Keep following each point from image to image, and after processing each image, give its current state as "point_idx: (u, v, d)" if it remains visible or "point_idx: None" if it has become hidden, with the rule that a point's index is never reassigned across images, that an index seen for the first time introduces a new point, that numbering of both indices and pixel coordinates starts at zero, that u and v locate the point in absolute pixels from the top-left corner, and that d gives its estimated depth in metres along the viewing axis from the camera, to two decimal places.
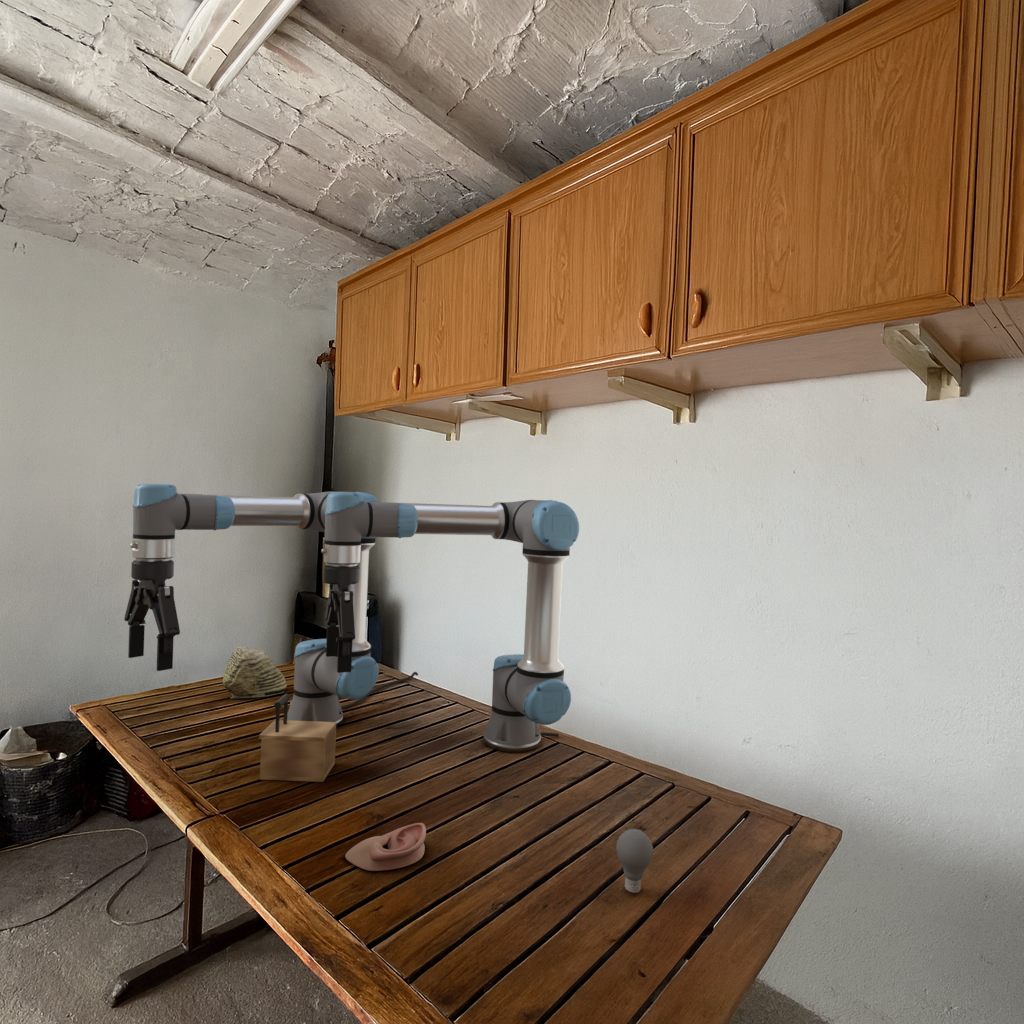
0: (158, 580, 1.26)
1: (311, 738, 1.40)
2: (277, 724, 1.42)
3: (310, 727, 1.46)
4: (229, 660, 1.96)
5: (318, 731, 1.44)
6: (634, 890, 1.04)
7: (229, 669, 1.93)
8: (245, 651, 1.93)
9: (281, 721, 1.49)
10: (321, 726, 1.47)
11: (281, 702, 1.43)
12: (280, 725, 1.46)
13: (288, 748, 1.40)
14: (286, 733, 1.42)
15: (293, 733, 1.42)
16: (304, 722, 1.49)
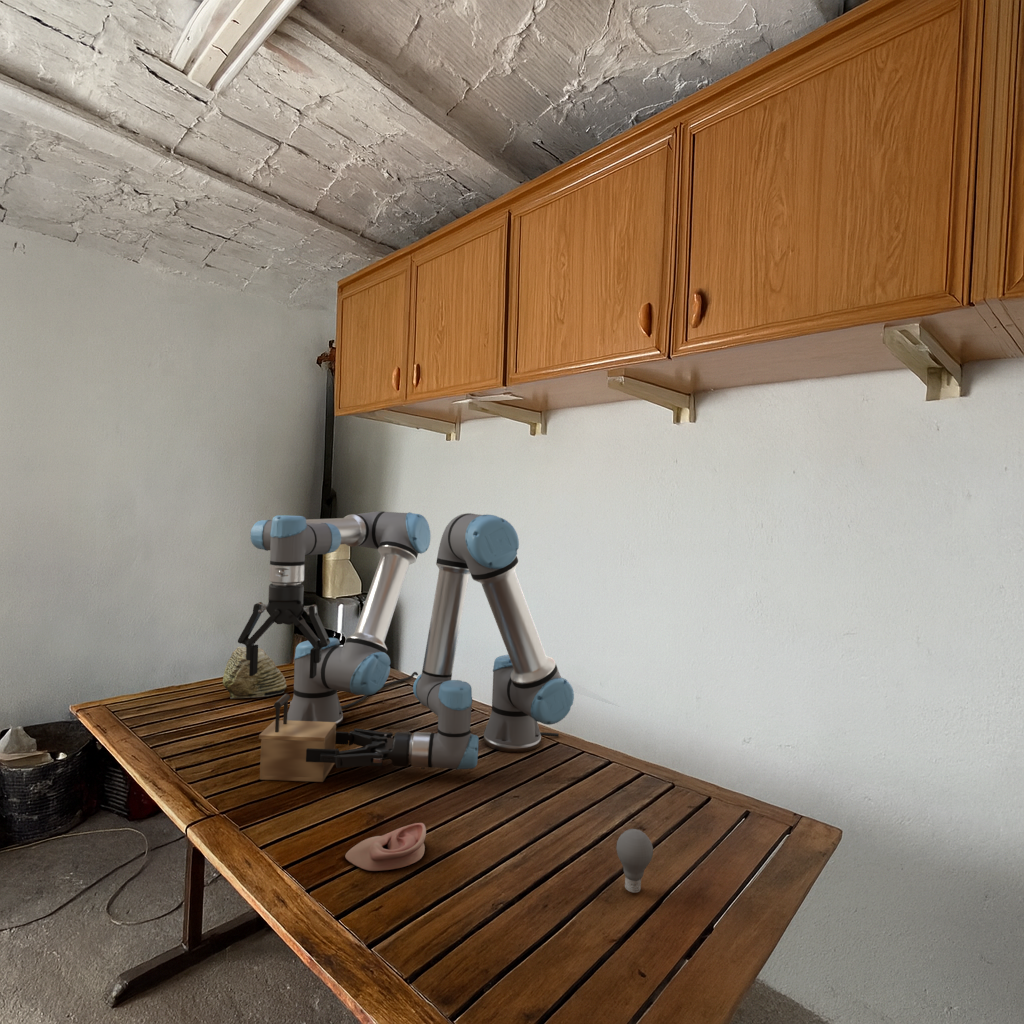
0: (301, 600, 1.44)
1: (311, 738, 1.40)
2: (277, 724, 1.42)
3: (310, 727, 1.46)
4: (229, 660, 1.96)
5: (318, 731, 1.44)
6: (634, 890, 1.04)
7: (229, 669, 1.93)
8: (245, 651, 1.93)
9: (281, 721, 1.49)
10: (321, 726, 1.47)
11: (281, 702, 1.43)
12: (280, 725, 1.46)
13: (288, 748, 1.40)
14: (286, 733, 1.42)
15: (293, 733, 1.42)
16: (304, 722, 1.49)
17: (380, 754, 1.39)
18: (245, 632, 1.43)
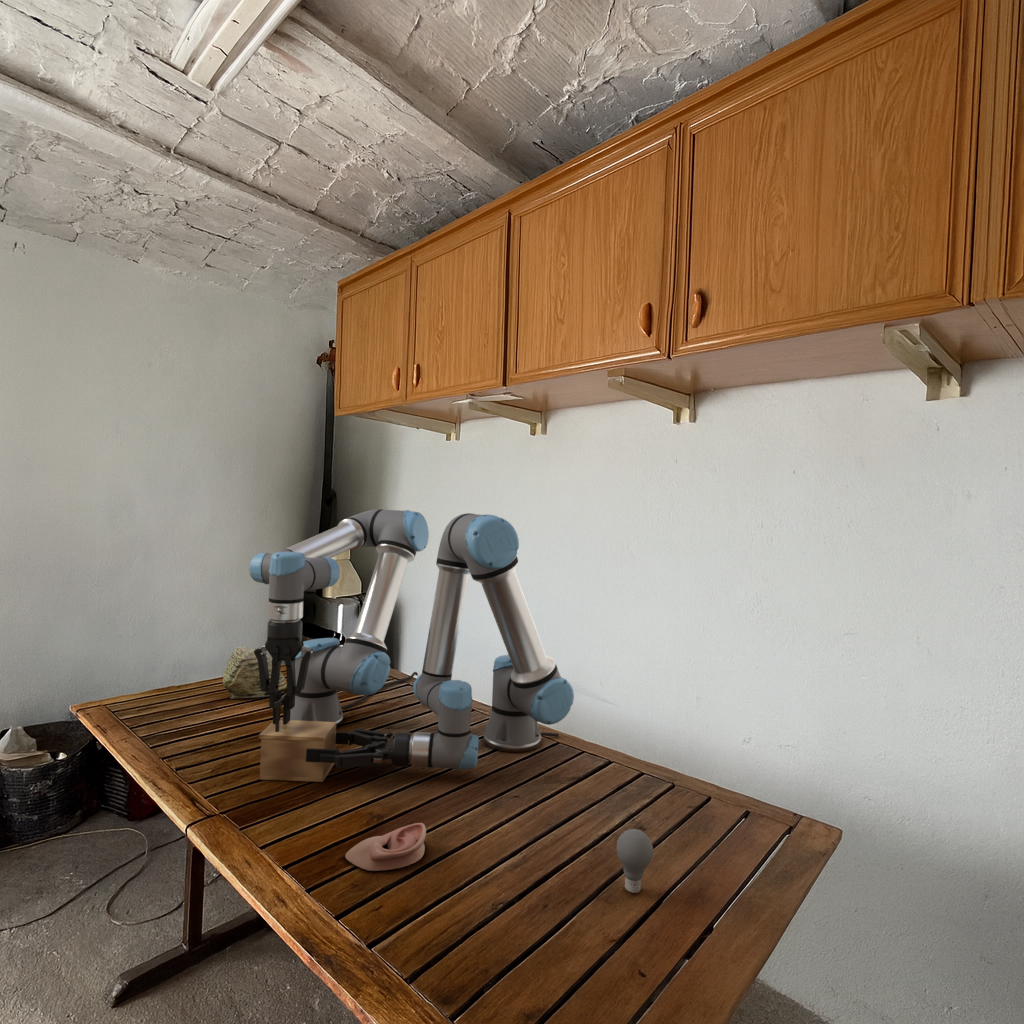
0: (300, 637, 1.44)
1: (311, 738, 1.40)
2: (277, 724, 1.42)
3: (310, 727, 1.46)
4: (229, 660, 1.96)
5: (318, 731, 1.44)
6: (634, 890, 1.04)
7: (229, 669, 1.93)
8: (245, 651, 1.93)
9: (281, 721, 1.49)
10: (321, 726, 1.47)
11: (281, 702, 1.43)
12: (280, 725, 1.46)
13: (288, 748, 1.40)
14: (286, 733, 1.42)
15: (293, 733, 1.42)
16: (304, 722, 1.49)
17: (380, 754, 1.39)
18: (262, 679, 1.44)
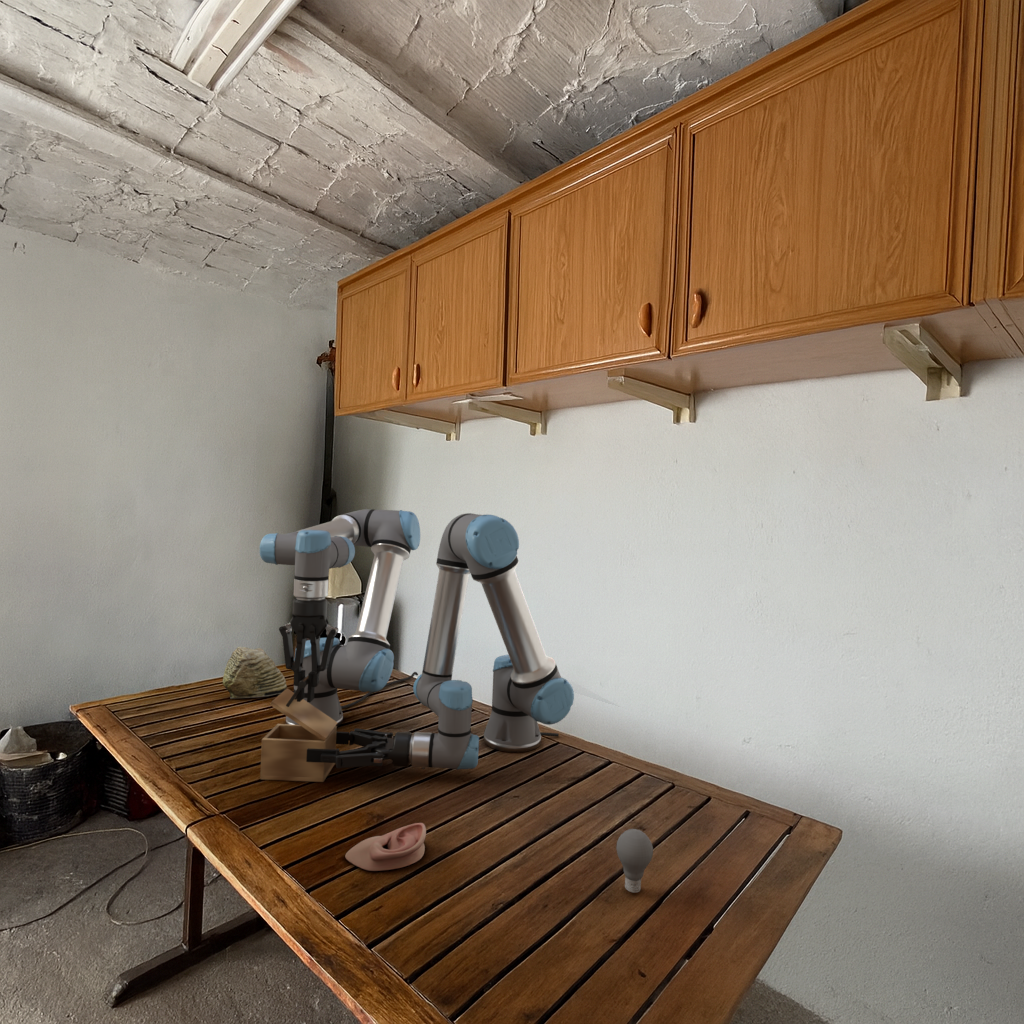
0: (325, 615, 1.44)
1: (314, 731, 1.40)
2: (291, 700, 1.42)
3: (315, 717, 1.46)
4: (229, 660, 1.96)
5: (321, 726, 1.44)
6: (634, 890, 1.04)
7: (229, 669, 1.93)
8: (245, 651, 1.93)
9: (292, 693, 1.49)
10: (324, 721, 1.47)
11: (306, 683, 1.43)
12: (290, 698, 1.46)
13: (288, 748, 1.40)
14: (294, 712, 1.42)
15: (300, 717, 1.42)
16: (311, 706, 1.49)
17: (380, 754, 1.39)
18: (287, 656, 1.44)
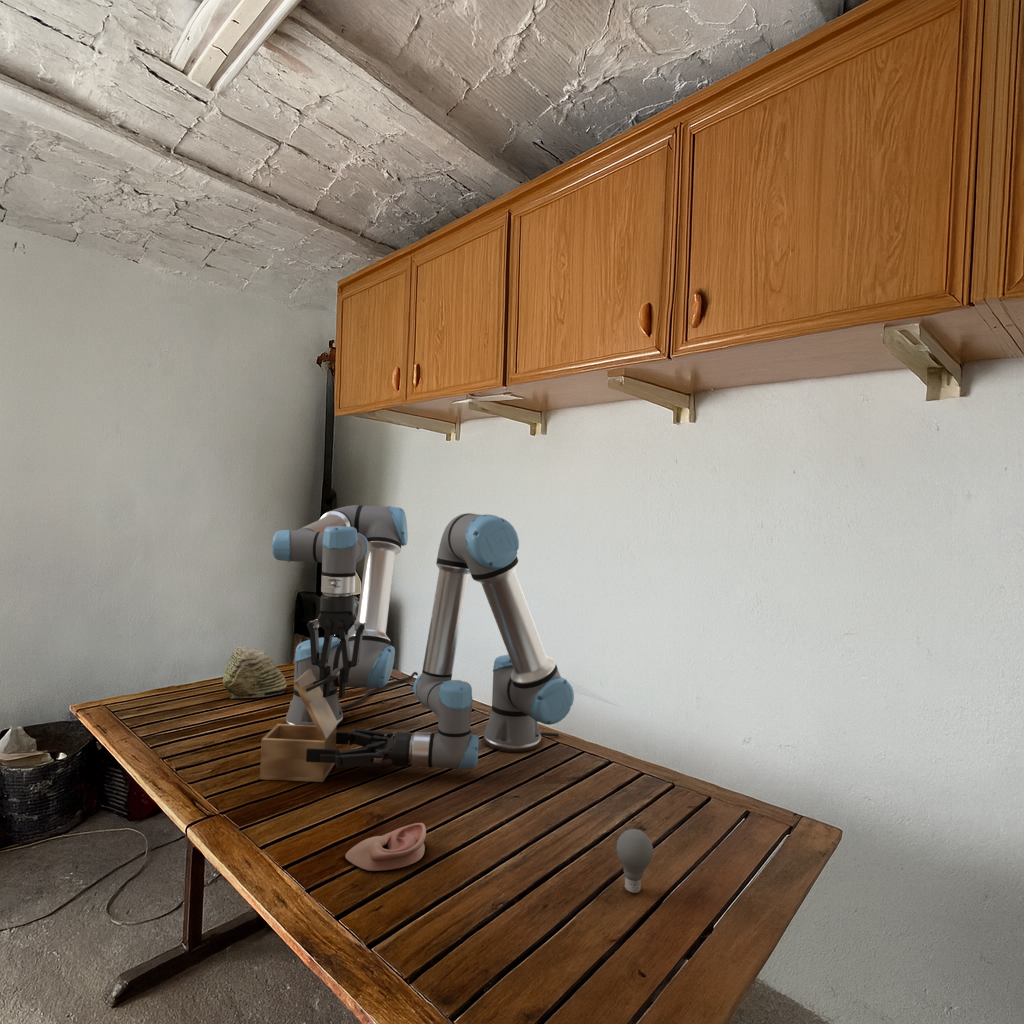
0: (353, 611, 1.44)
1: (319, 727, 1.40)
2: (313, 687, 1.42)
3: (323, 711, 1.46)
4: (229, 660, 1.96)
5: (326, 723, 1.44)
6: (634, 890, 1.04)
7: (229, 669, 1.93)
8: (245, 651, 1.93)
9: (312, 676, 1.49)
10: (329, 718, 1.47)
11: (334, 679, 1.43)
12: (310, 682, 1.46)
13: (288, 748, 1.40)
14: (310, 700, 1.42)
15: (313, 707, 1.42)
16: None
17: (380, 754, 1.39)
18: (313, 652, 1.44)
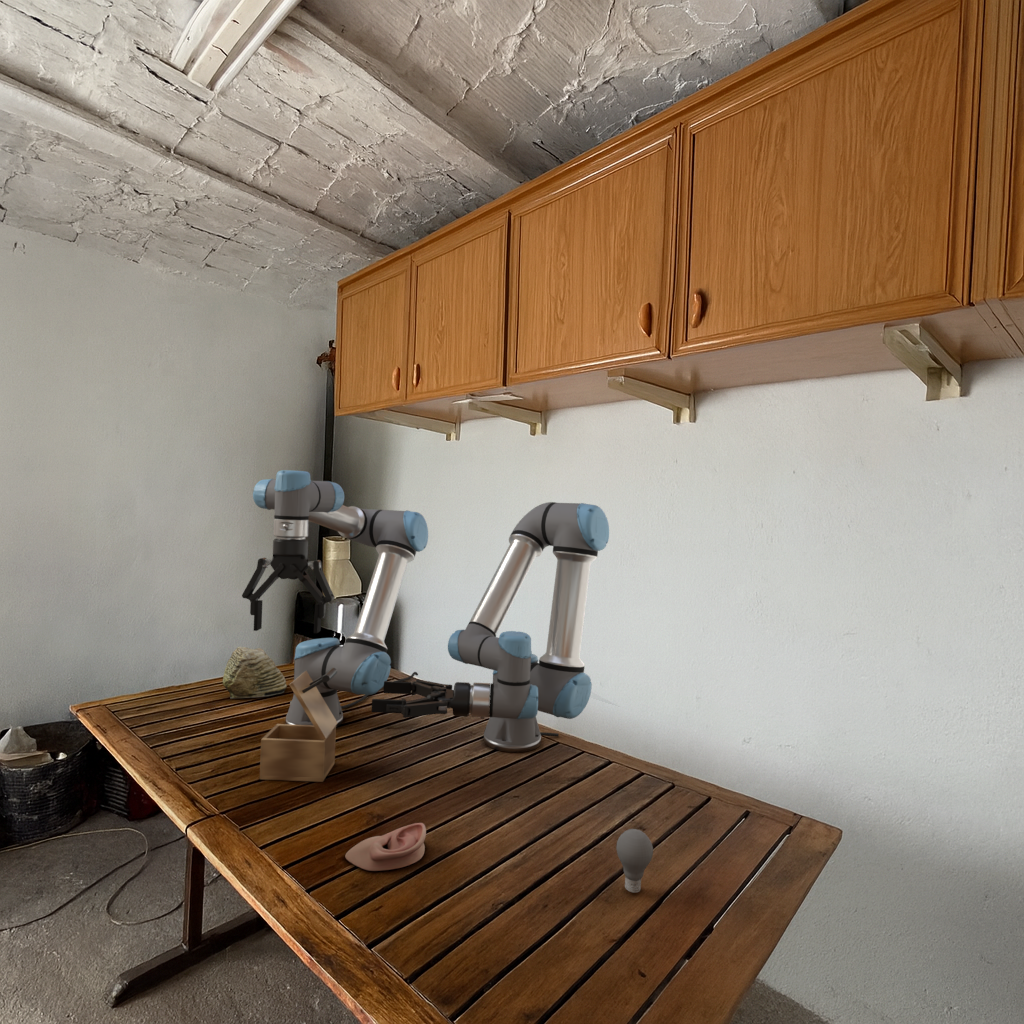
0: (306, 555, 1.44)
1: (318, 728, 1.40)
2: (309, 688, 1.42)
3: (321, 711, 1.46)
4: (229, 660, 1.96)
5: (325, 723, 1.44)
6: (634, 890, 1.04)
7: (229, 669, 1.93)
8: (245, 651, 1.93)
9: (309, 678, 1.49)
10: (328, 718, 1.47)
11: (330, 678, 1.43)
12: (307, 684, 1.46)
13: (288, 748, 1.40)
14: (307, 701, 1.42)
15: (311, 708, 1.42)
16: (320, 698, 1.49)
17: (445, 702, 1.39)
18: (249, 587, 1.43)
